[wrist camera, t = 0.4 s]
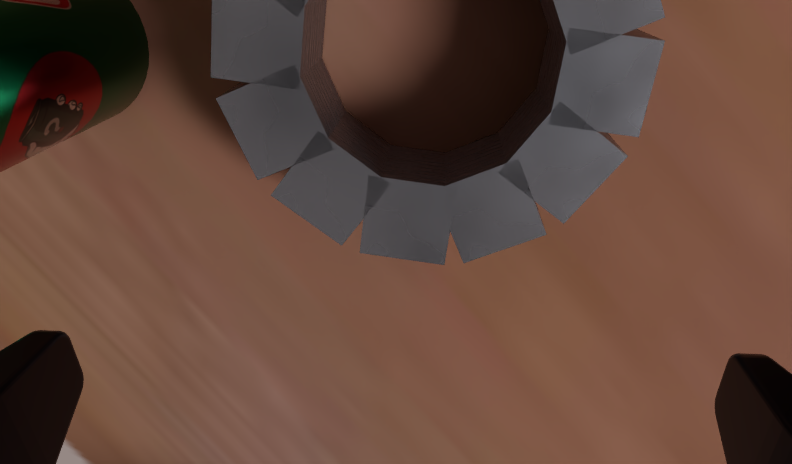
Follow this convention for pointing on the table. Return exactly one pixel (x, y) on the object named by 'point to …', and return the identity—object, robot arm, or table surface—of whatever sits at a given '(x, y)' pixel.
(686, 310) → the table surface
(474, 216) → the ring
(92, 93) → the soda can
